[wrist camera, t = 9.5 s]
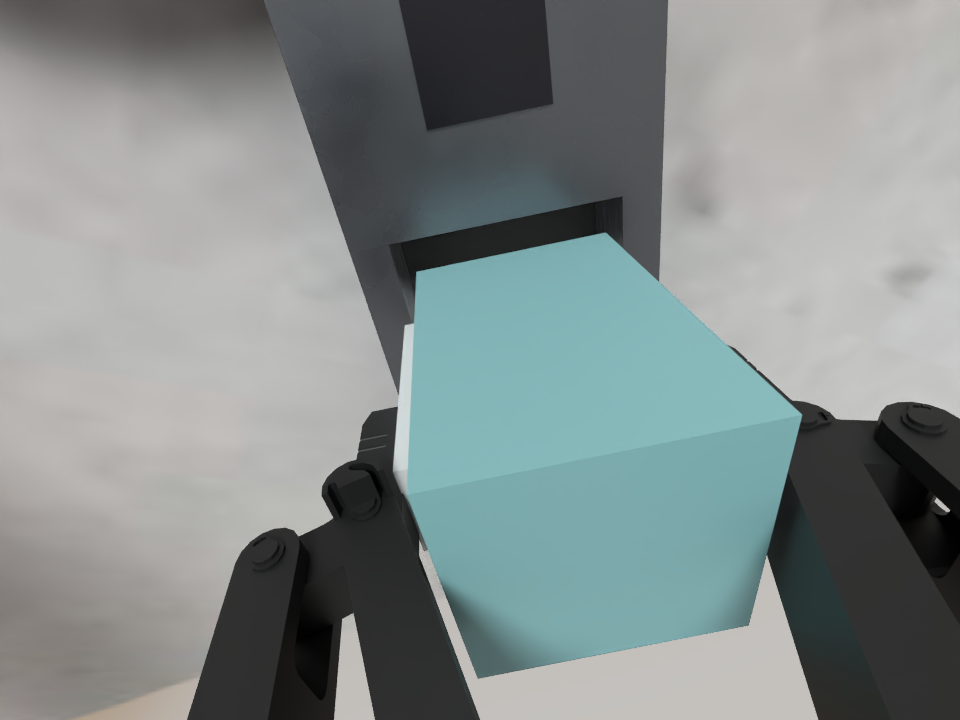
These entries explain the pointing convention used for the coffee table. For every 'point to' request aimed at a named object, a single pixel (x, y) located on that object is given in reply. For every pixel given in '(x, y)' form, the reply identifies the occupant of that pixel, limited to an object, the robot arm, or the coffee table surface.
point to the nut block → (586, 457)
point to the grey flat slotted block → (477, 122)
